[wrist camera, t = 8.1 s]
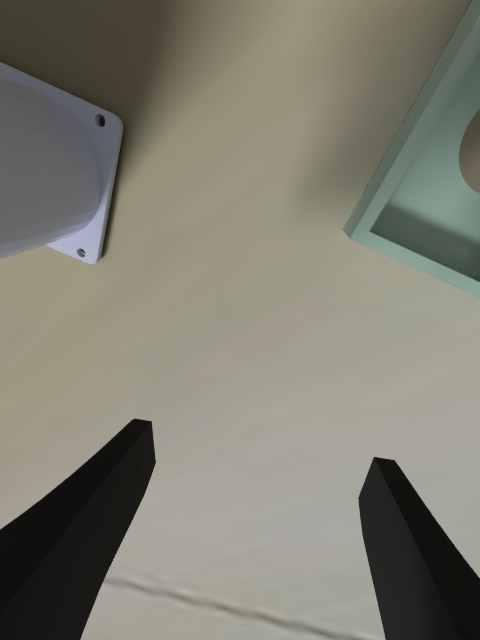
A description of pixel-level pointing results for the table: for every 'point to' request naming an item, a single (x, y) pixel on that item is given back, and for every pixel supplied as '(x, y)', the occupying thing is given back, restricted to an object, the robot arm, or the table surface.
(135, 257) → the table surface
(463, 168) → the shaker
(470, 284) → the tray
